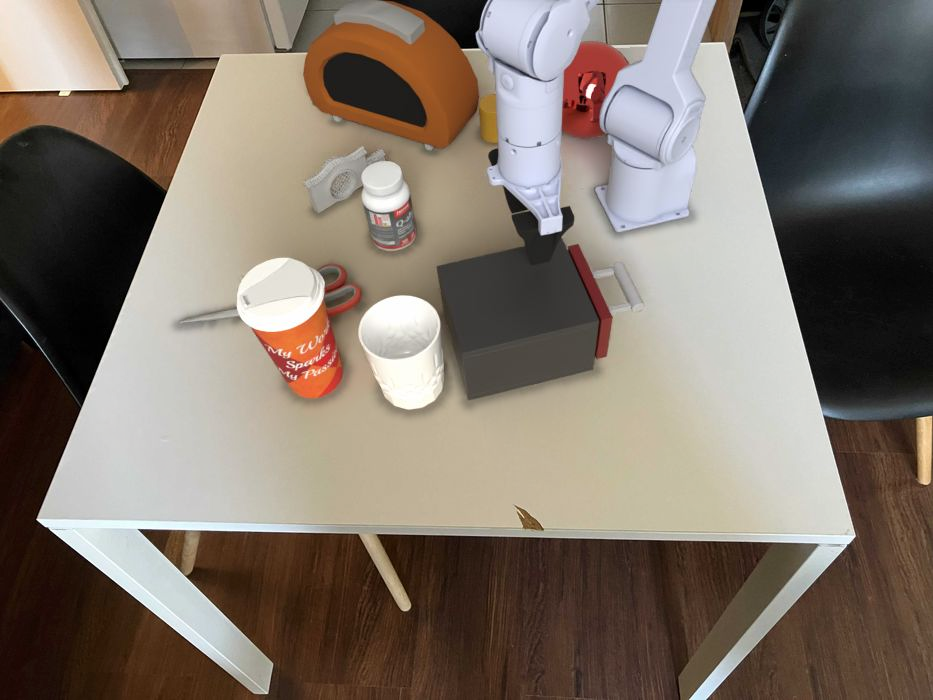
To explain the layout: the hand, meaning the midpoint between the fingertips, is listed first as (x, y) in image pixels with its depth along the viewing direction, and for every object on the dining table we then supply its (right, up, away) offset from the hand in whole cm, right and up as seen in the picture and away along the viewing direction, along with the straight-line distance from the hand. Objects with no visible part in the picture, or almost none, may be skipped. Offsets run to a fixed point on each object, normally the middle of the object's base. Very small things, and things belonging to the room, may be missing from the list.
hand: (529, 234), depth 75 cm
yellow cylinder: (-3, +18, +25) cm, 31 cm away
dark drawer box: (-1, -11, +4) cm, 12 cm away
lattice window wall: (-22, +9, +20) cm, 31 cm away
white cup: (-12, -16, +2) cm, 20 cm away
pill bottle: (-16, +2, +15) cm, 22 cm away
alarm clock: (-17, +21, +28) cm, 39 cm away
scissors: (-29, -8, +9) cm, 32 cm away
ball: (+10, +18, +24) cm, 32 cm away
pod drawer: (+3, -10, +4) cm, 11 cm away
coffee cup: (-23, -15, +4) cm, 28 cm away
